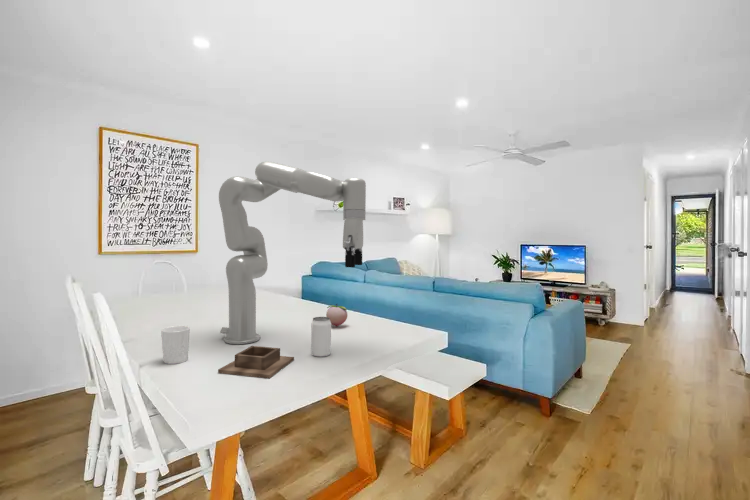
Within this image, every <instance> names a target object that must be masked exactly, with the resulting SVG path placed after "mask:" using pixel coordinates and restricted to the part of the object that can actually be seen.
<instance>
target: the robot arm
mask: <svg viewBox="0 0 750 500" xmlns="http://www.w3.org/2000/svg"><path fill="white" fill-rule="evenodd" d="M254 173H255V179H252V178H248V177H244V176H239V175H238V176H232V177H228V178H227V179H225V181H224V182H223V183H222V184H221V186H220V188H219V190H218V202H219V203H218V204H219V208H220V211H221V217H222V224H223V230H224V238H225V243H226V247H227V248H228V249H229V250H230V251H232V252H243V254H239V255H235V256H232V257H231V258H230V259H229V260H228V261H227V263H226V265H225V275H226V279H227V286H228V287H227V288H228V327H226V326H223V327H221V328H220V330H219V331H220V332H219V333H220V334H225V336H224V337H223V338H224V342H225V343H226V344H231V345H246V344H247V345H248V344H252V343H256V342H258V341H260V339H261V335H260V334H259V333H257V298H256V297H257V295H256V294H257V292H256V286H255V282H254V280H255V279H259V278H263V277H264V275H265V274H266V273H267V270H268V257H267V250H266V243H265V238H264V235H263V233H262V232H261V230H260V229H259V228H257V227H255V226H250V225H249V223H248V216H247V211H246V208H245V207H244V205H243V203H242V202H249V203H259V202H262V201H264V200H266V199H267V198H269V197H271V196H272V195H274V194H276V193H277V192H279V191H280V190H284V191H288V192H290V193H291V192H292V193H295V194H297V193H298V194H299V193H300V194H303V195H307V196H311V197H315V198H319V199H323V200H326V201H330V202H342V204H343V206H342V208H343V211H342V213H343V214H342V219H343V221H344V222H343V230H342V231H343V233H342V235H343V236H342V248H343V249H344V250H345V252H344V254H345V255H344V256H345V257H344V258H345V259H344V267H345V268H355V266H362V265H363V247H364V221H366V211H367V210H366V204H367V203H366V201H367V200H366V199H367V198H366V196H367V194H366V190H367V188H366V187H367V185H366V181H365V180H364V179H363V178H357V177H356V178H355V177H353V178H346V179H345V180H340V179H336V178H334V177H331V176H328V175H324V174H320V173H317V172H311V171H307V170H303V169H302V168H298V167H296V166H295V167H294V166H291V165H286V164H283V163H282V164H281V163H278V162H274V161H267V160H265V161H261V162H259V163H258V164H257V166H256V168H255V170H254Z"/></svg>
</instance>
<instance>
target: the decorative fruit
mask: <svg viewBox="0 0 750 500" xmlns="http://www.w3.org/2000/svg"><path fill="white" fill-rule="evenodd" d="M326 308H327V311H326V316H325V317H328V318H330V322H331V326H332V325H333V326H335V327H337V328H338V326H341V325H343V324H344V323H345V322H346V321H347V319H348V308H346V307H345V306H342V305H338V303H336V305H333V304H332V305H328V306H327V307H326Z"/></svg>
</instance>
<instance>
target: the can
mask: <svg viewBox="0 0 750 500" xmlns="http://www.w3.org/2000/svg"><path fill="white" fill-rule="evenodd" d="M310 331H311V333H310V334H311V335H310V336H311V337H310V338H311V339H310V341H311V342H310V343H311V344H310V345H311V346H310V349H311V350H310V351H311V352H310V353H311V355H312V356H313V357H315V358H325V357H328V356H330V355H331V353H332V351H331V349H332V348H331V347H332V324H331V322H330V318H328V317H326V316H315V317H313V318H312V321H311V329H310Z"/></svg>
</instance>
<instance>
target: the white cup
mask: <svg viewBox="0 0 750 500" xmlns="http://www.w3.org/2000/svg"><path fill="white" fill-rule="evenodd" d="M160 331H161V333H160V334H161V347H162V355H163V357H162V359H163V363H164V364H167V365H175V364H176V365H177V364H181V363H185V362H186V361H188V359H189V351H190V350H189V348H190V333H191V329H190V326H188V325H187V326H186V325H174V326H173V325H172V326H167V327H163V328H162V329H161V330H160Z"/></svg>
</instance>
